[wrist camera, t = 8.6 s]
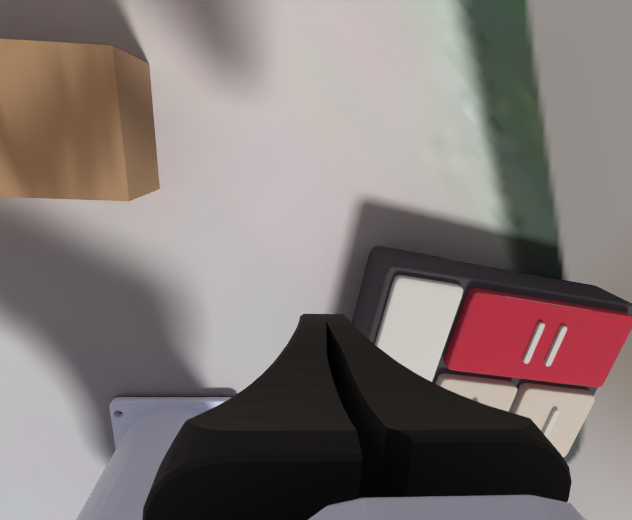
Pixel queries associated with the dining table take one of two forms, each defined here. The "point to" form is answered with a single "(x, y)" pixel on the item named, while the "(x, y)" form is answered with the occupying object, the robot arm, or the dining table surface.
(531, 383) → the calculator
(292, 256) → the dining table surface
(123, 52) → the walnut block
